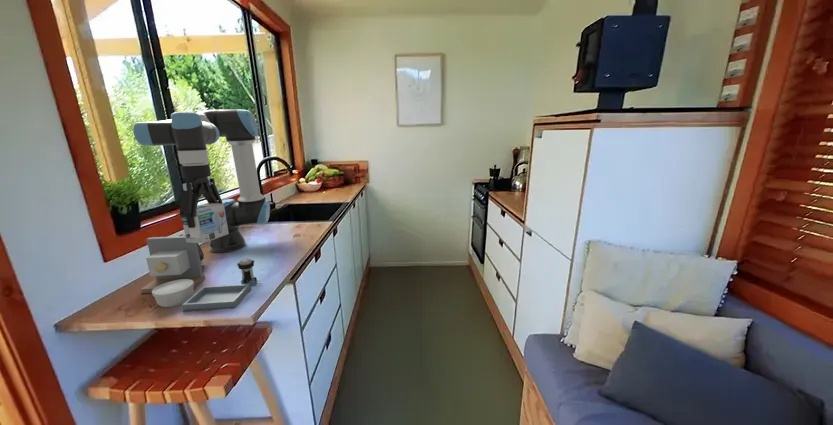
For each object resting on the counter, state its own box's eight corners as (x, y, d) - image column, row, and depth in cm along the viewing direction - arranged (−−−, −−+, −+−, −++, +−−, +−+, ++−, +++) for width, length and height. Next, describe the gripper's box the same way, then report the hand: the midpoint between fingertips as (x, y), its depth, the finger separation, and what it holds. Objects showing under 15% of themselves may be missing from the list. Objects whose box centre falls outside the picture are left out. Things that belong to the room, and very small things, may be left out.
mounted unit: (161, 280, 119) (151, 237, 115) (205, 277, 121) (196, 235, 116) (140, 293, 109) (128, 246, 105) (188, 290, 111) (178, 244, 106)
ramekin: (170, 293, 110) (167, 279, 108) (203, 291, 110) (200, 277, 109) (146, 310, 99) (142, 295, 97) (183, 308, 99) (179, 293, 98)
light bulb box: (203, 244, 96) (196, 210, 94) (185, 243, 98) (178, 209, 95) (229, 233, 106) (224, 202, 104) (213, 232, 108) (207, 202, 105)
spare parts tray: (205, 292, 109) (203, 286, 108) (251, 290, 110) (250, 283, 110) (183, 311, 97) (181, 304, 97) (235, 308, 99) (233, 301, 98)
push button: (263, 281, 117) (259, 256, 114) (258, 288, 111) (254, 262, 109) (244, 282, 116) (240, 257, 113) (238, 289, 111) (234, 263, 108)
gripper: (204, 162, 108) (215, 222, 113) (153, 168, 84) (170, 244, 90) (227, 161, 108) (236, 221, 113) (182, 167, 85) (197, 242, 90)
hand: (207, 231), depth 101 cm, fingers closed on light bulb box, 12 cm apart
